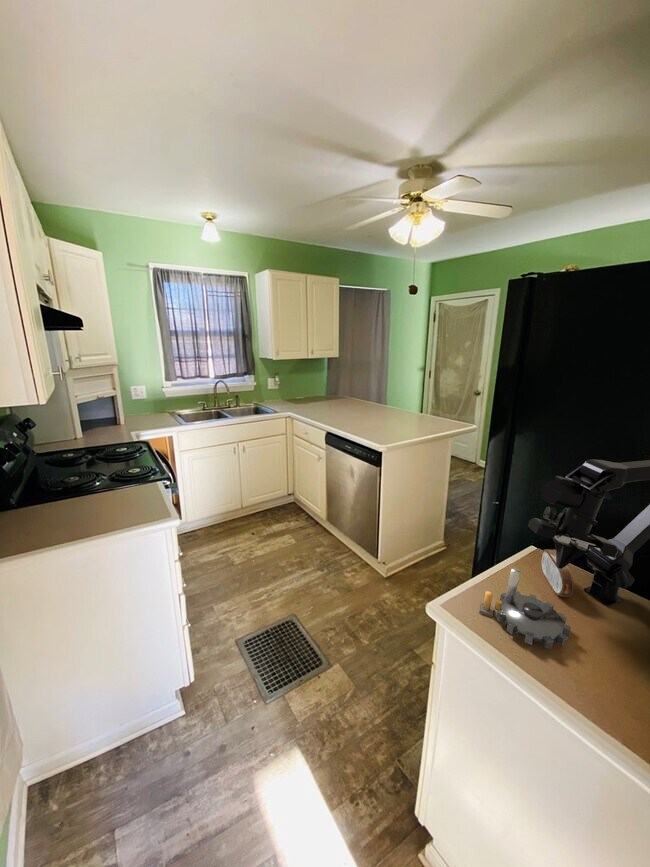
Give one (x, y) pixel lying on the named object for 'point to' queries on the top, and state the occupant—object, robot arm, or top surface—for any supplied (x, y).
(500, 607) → the sprocket
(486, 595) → the rounded peg on base
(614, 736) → the top surface
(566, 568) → the tin
